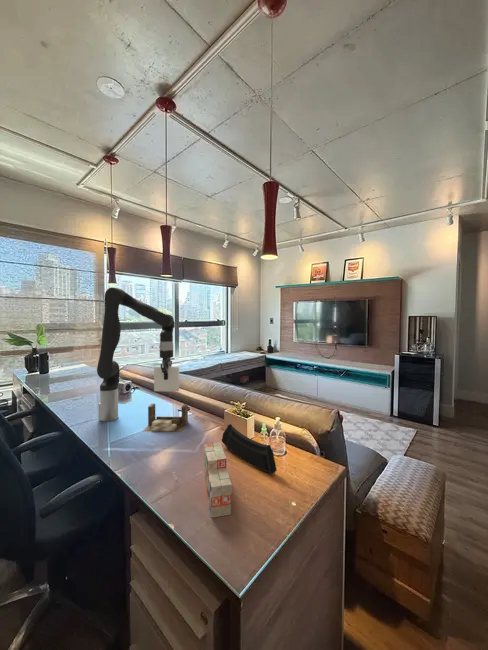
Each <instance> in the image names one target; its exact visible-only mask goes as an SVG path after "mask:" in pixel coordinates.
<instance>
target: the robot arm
mask: <svg viewBox="0 0 488 650" xmlns="http://www.w3.org/2000/svg"><path fill="white" fill-rule="evenodd" d="M120 305H121V306H124V307H127V308H129V309H131V310H133V311H134V312H136V313H137V314H139V315H141V316H142V317H144V318H147V319H149V320H151V321H153V322H154V323H156V324H157V325H159V326H161V331H160V334H159V358H160V359H162V361H161V364H160V365H159V366H161V370H162V373H164V380H168V369H169V366H172V365H173V360H171V359H172V358H174V336H173V335H174V326H175V318H174V317H173V316H172V315H171V314H166V313H164V312H162V311H160V310H159V309H157V308H155V307H154V306H151V305H149V304H147V303H145V302H143V301H141V300H138V299H136V298H135V297H133V296H132V295H130V294H128V292H126V291H124V290H123V288H119V287H113V286H112V287H109V288H107V289H106V290H105V293H104V312H103V313H104V314H103V324H102V332H101V344H100V351H99V352H100V354H99V359H98V363H97V368H96V373H97V376H98V377H99V378H100V379H102V382H101V384H100V386H99V403H98V421H101V422H105V423H106V422H113V421H115V420H117V419H119V383H120V369H121V368H120V365H119V363H118V362H117V361H116V360H114V355H115V352H116V349H117V347H118V345H119V342H120V339H121V332H122V331H121V330H122V327H121V322H120V318H119V309H120ZM166 367H167V368H166Z"/></svg>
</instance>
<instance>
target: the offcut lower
mask: <svg viewBox="0 0 488 650" xmlns="http://www.w3.org/2000/svg"><path fill="white" fill-rule="evenodd" d="M176 428H177V424H171V426H170V427H152V426H151V431H175V429H176ZM151 431H150V432H151Z"/></svg>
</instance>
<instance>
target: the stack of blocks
mask: <svg viewBox="0 0 488 650" xmlns="http://www.w3.org/2000/svg"><path fill="white" fill-rule="evenodd" d="M221 442H222V441H221ZM221 442H213V443H212V442H211V443H205V444H204V445H203V450H204V451H203V452H204V454H203V455H204V456H203V457H204V460H203V461H204V482H205V483H204V484H205V490H206V494H207V500H208V510H209V514H210V518H218V517H223V516H228V515H231V514H232V494H233V491H232V490H233V489H232V488H233V487H232V486H233V484H232V481H231V478H230V475H229V471H228V469H227V457H226V454H225V451H224V448H223V446H222V443H221Z"/></svg>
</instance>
